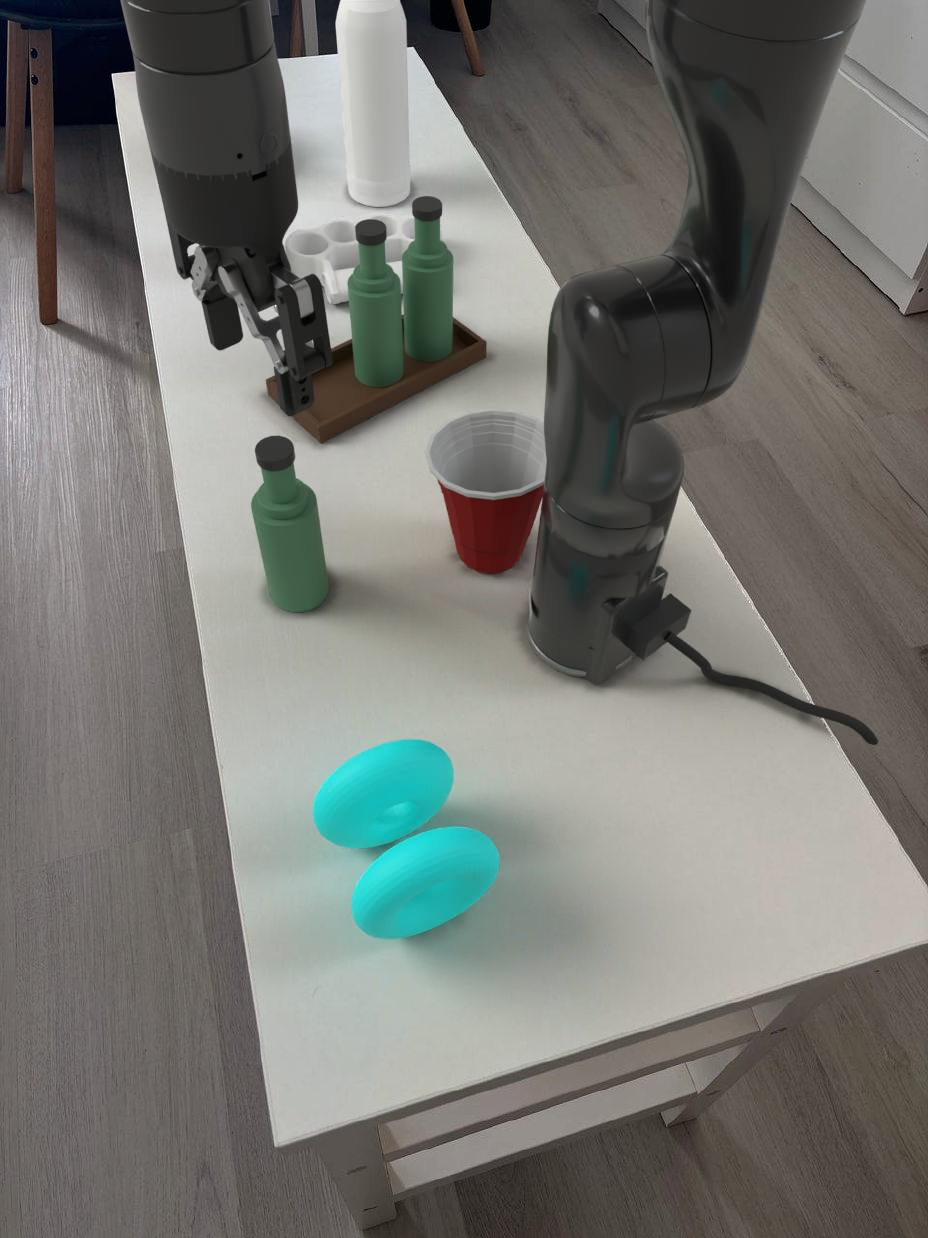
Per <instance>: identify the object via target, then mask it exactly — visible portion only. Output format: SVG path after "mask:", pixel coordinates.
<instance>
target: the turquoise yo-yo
mask: <svg viewBox="0 0 928 1238" xmlns="http://www.w3.org/2000/svg"><path fill="white" fill-rule="evenodd" d="M454 772H455V769H454V766H453V762H452V760H451V758H450V756H449V755H448V753H447V752H446V751H445V750H444V749H443V748H441V747H440V746H438V745H437V744H435V743H433V742H431V741H429V740H423V739H419V738H418V739H417V738H405V739H404V738H403V739H397V740H393V741H392V740H391V741H388V742H384V743H381V744H378V745H375V746H373V747H370V748H368V749H366V750H363V751H361V752H359V753H358V754H356V755H354V756H352V757H351V758H349V759H348V760H346V761H345V762H343V763H342V764H340V765H339V766H338V767H337V768H336V769H335V770H334V771H332V772H331V773H330V774H329V776H328V777H327V778H326V779H325V780H324V781H323V782H322V784H321V785H320V787H319V789H318V791H317V793H316V794H315V797H314V800H313V804H312V818H313V823H314V825H315V828H316V830H317V831H318V833H319V834H320V835H321V836H322V837H323V838H324V839H326V840H327V841H328V842H330V843H332V844H333V845H336V846H339V847H342V848H347V849H368V848H375V847H379V846H383V845H386V844H389V843H392V842H395V841H398V840H400V839H402V838H404V837H406V836H408V835H409V834H412V833H413V832H415V831H416V830H418V829H420V828H421V827H423V825H425V824H426V823H427V822H428V821H430V820H431V819H432V818H434V816H435V815H436V814H437V813H438V812H439V811H440V810H441V809H442V807H443V806H444V804H445V803H446V802H447V799H448V798H449V795H450V793H451V791H452V788H453V784H454V781H455V779H454V778H455V773H454ZM500 860H501V859H500V854H499V849H498V848H497V846H496V844H495V843H494V841H493V840H492V839H491V838H490V837H489V836H488V835H486V834H485V833H484V832H482V831H480V830H478V829H475V828H472V827H466V826H459V825H458V826H457V825H456V826H444V827H437V828H433V829H429V830H426V831H423V832H420V833H417V834H415V835H413V836H410V837H408V838H406V839H404V840H402V841H400V842H399V843H396V844H394V846H391V848H389V849H388V850H386V851H384V853H382V854H381V855H380V856H378V857H377V858H376V859H374V861H373V862H372V863H371V864H370V865H369V866H368V867H367V868H366V869H365V871H364V872H363V873H362V874H361V876H360V877H359V879H358V881H357V883H356V885H355V887H354V889H353V892H352V896H351V902H350V903H351V904H350V905H351V906H350V909H351V914H352V918H353V920H354V922H355V924H356V925H357V927H358V929H360V930H361V932H364V933H365V934H366V935H368V936H370V937H372V938H376V939H381V940H398V939H405V938H410V937H413V936H416V935H418V934H423V933H425V932H428V931H430V930H432V929H435V928H437V927H439V926H441V925H443V924H446V923H447V922H449V921H451V920H453V919H454V918H457V916H458V917H459V915H461V914H462V913H464V912H465V911H467V910H468V909H469V908H471V907H472V906H473V905H475V904H476V903H477V902H478V901H480V899H481V898H482V897H484V895H485V894H486V893H488V891H489V889H490V888H491V887H492V885H493V884H494V882H495V881H496V879H497V876H498V873H499V871H500V862H501V861H500Z"/></svg>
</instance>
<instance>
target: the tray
mask: <svg viewBox="0 0 928 1238" xmlns="http://www.w3.org/2000/svg"><path fill="white" fill-rule="evenodd" d="M402 337H403V365H404V373H403V376H402V378H401V379H400V380H399V381H398V382H397V383H395V384H393V385H391V386H387V387H370V386H367V385H364V384H363V383H361V382H360V381H359V380H358V379H357V378H356V376H355V368H354V356H353V344H352V338H350V339H348V340H346V341H344V342H341V343H340V344H338V345H336V346H334V347H331V352H332V359H333V363H332V365H330V366H328V367H326V368H322V369H320V370H318V371H316V372H314V373H312V374H311V375H312V382H313V390H314V398H315V400H314V404H313V405H312V406H311V407H309V408H308V409H306V410H304V411H302V412H300V413H298V414H296V415H294V416H290V417H291V419H293V420H294V421H296V422H297V424H298V425H300V426H301V427H302V428H303V429H304V430H305V431H306V432H308V434H310V436H312V438H314V439H315V440H316V441H317V442H318V443H320V444H323V443H324V442H326V441H329V440H330V439H332V438H334V437H336V436H338V435H340V434H342V433H344V432H346V431H347V430H349V429H352V428H353V427H356V426H357V425H359V424H361V423H363V422H365V421H368V419H371V418H373V417H375V416H376V415H379V414H380V413H382V412H384V411H386V410H388V409H390V408H391V407H394V406H396V405H398V404H399V403H401V402H403V401H405V400H407V399H409V398H411V397H413V396H415V395H417V394H419V393H421V392H423V391H424V390H427V389H428V388H430V387H432V386H434V385H436V384H438V383H440V382H442V381H444V380H446V379H448V378H450V377H452V376H453V375H455V374H458V373H459V372H461V371H463V370H465V369H467V368H469V367H471V366H473V365H474V364H476V363H478V362H480V361H483V360H484V359H486V358H487V348H488V342H487V340H485V339H484V338H482V337H481V336H480V335H478V334H477V333H475V332H474V331H473V330H472V329H470V328H469V327H467V326H466V325H464V324H463V323H462V322H461V321H459V320H458V319H456V318H455V317H454V316H453V333H452V351H451V353H450V354H449V355H448V356H447V357H446V358H444V359H442V360H440V361H436V362H421V361H418V360H415V359H413V358H411V357H410V356H409V355H408V354H407V353H406V350H405V337H404V313H403V314H402ZM265 385H266V391H267V395H268V397H269V398H270V399H272V400H273V402H275V403H276V404H277V405H278V406H279V407H280V404H279V397H278V391H277V385H276V379H275V374H274V375H272V376H270V377H268V378H266V379H265Z"/></svg>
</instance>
